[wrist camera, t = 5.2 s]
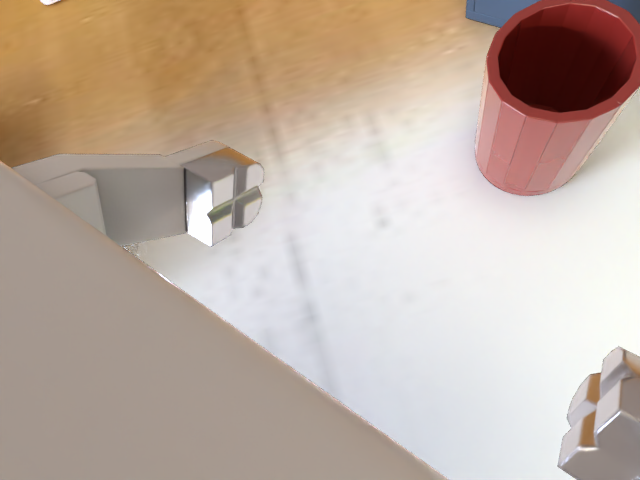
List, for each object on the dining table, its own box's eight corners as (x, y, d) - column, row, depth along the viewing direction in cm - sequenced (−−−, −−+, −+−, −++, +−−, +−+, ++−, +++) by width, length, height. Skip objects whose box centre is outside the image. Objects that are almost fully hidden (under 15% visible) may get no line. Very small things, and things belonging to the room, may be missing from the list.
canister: (454, 156, 28) (457, 73, 19) (520, 87, 28) (552, -27, 19) (535, 216, 25) (578, 149, 17) (607, 141, 25) (686, 37, 17)
